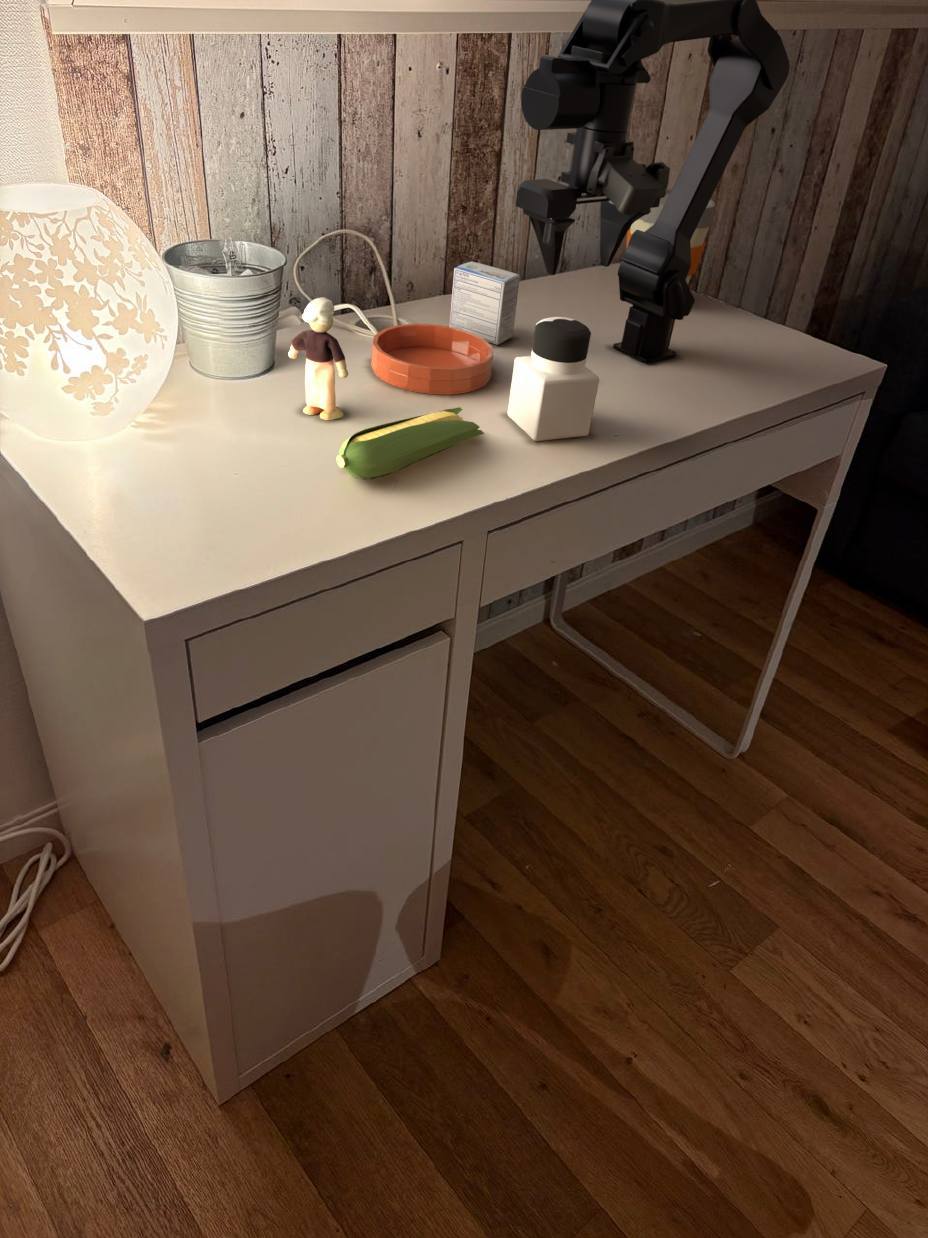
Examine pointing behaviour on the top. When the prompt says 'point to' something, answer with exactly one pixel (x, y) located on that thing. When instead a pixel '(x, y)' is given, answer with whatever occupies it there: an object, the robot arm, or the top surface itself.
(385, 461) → the edible corn
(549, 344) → the medicine bottle
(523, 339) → the top surface
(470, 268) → the medicine box
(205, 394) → the top surface
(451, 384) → the plant saucer
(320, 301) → the grandmother figurine
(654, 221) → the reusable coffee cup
